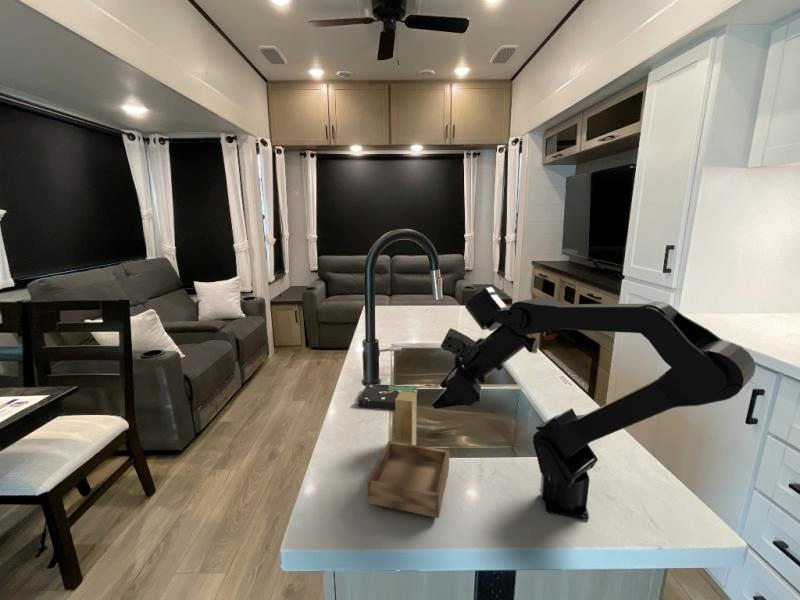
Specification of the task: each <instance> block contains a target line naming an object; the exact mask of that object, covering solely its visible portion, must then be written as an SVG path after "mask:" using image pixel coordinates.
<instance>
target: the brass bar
mask: <svg viewBox="0 0 800 600" xmlns="http://www.w3.org/2000/svg"><path fill="white" fill-rule="evenodd" d="M394 411H395V442H397V443H403V444H410V445H416V446H417V397H416V393H413V392H404V391H400V393H399V394H398V396H397V398H396V399H395V410H394Z"/></svg>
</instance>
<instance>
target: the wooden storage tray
mask: <svg viewBox="0 0 800 600" xmlns="http://www.w3.org/2000/svg"><path fill="white" fill-rule="evenodd" d="M449 471H450V450H447V449H441V448H433V447H429V446H428V447H427V446H421V445H417V444H416V445H410V444H403V443H397V442H396V441H391V440H390V441H389V440H388V442H387V443H386V446H385V448H384V449H383V452H382V453H381V455H380V457H379V459H378V460H377V462H376V464H375V466H374V469H373V471H372V472H371V474H370V476H369V478H368V480H367V481H366V482H367V483H366V486H367V504H370V505H376V506H380V507H386V508H390V509H395V510H400V511H403V512H404V511H405V512H409V513H414V514H418V515H424V516H427V517H433V518H437V519H439V518H440V513H441V507H442V504H443V500H444V496H445V495H444V494H445V491H446V485H447V480H448V476H449Z"/></svg>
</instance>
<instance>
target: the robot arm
mask: <svg viewBox="0 0 800 600" xmlns="http://www.w3.org/2000/svg"><path fill="white" fill-rule="evenodd" d="M464 306H465V307H464V308H465V309H466V310H467V312H468V314H470V316H471V317H472V318H473V320H474V321H475V323H476V324H477V325H478V326H479V328H480V329H481V330H482V331H486V330H488V331H489V332H491V331H492V332H491V333H490V334H489V335H488V336H486V337H485V338H484V337H482V338H481V337H479V338H478V339H477V340H474V339H472V338H471V337H469V336H468V335H466V334H464V333H463V332H462V333H461V332H460V331H459V330H456V329H454V328H449V329H448V331H447V333H446V335H445V337H444V338H443V340H442V342H441V344H440V349H442V350H443V351H445V352H449V353H451V354H453V355H455V356H454V365H453V366H452V367H451V369H450V370H449V372H448V373H447V374H446V376H445V377H444V378H443V380H442V381H441V382H440V384H439V386H440V387H441V388H442V389H443V390H442V391H441V393H440V394H439V395H438V396H437V397H436V399H434V401H433V402H432V404H431V406H432V407H433V408H434V409H435V410H438V409H444V408H450V407H458V406H459V407H460V406H466V407H469V408H473V407H474V406H476V405H478V404H479V403H480V402H481V394H482V386H481V384H482V385H483V384H484V383H486V382H487V377H489V375H491V374H492V373H493V372H494V371H496V370H497V371H498V372H499V371H500V372H501V370H502V369H503V368H504V364H505V363H506V362H508V361H509V360H510V359H511V358H513V357H514V356H516V355H517V353H520V351H522V350H523V349H525V350H527V352H528V353H530V354H537V353H538V343H539V339H538V338H536V337H531V336H530V335H534V334H541V333H546V332H547V333H548V332H552V331H556V330H557V331H559V330H567V331H568V330H569V331H585V332H586V331H588V332H605V333H606V332H610V333H628V334H629V333H630V334H640V335H642V336H643V337H644V338H645V339H646V340H647V341H648V342H649V343H650V344H651V345H652V347H653V349H654V350H655V351H656V353H658V355H659V356H660V357H661V359H662V360H663V361H664V363H665V364H667V365H668V366H669V367H670V368H669V369H668V370H666V371H665V372H664V373H663V374H661V375H660V376H659V377H657V379H654V380H653V381H650V382H649V383H646V384H645V385H642V386H640V387H639V388H636V389H634V390H632V391H630V392H628V393H626V394H624V395H622V396H620V397H618V398H616V399H613V400H612V401H610V402H608V403H606V404H604V405H602V406H600V407H598V408H595V409H594V410H592V411H590V412H588V413H585V414H579V415H578V414H577V415H576V413H575V410H574V409H573V408H570V409H567V410H566V411H564V412H562V413H560V414H557V415H555V416H553V417H552V418H550V419H549V420H546V421H545V422H543V423H541V424H539V425H538V426H537V425H536V427H535V429H536V430H537V431H536V432H535V433H534V434H533V435H532V444H533V448H534V450H535V451H534V452H535V454H536V458H537V462H538V463H537V464H538V467H539V470H540V471H539V472H540V474H541V477H540V478H541V479H540V489H539V490H540V497H541V500H542V501H543V502H544V507H545V511H546V512H548V513H550V514H554V515H555V514H556V515H561V516H566V517H571V518H577V519H581V520H585V521H586V520H589V519H590V516H589V511H588V508H587V505H588V498H589V497H588V496H589V487H590V476H589V474H588V471H589V470H591V469H592V468H594V466H595V465H596V464H597V462H598V460H599V459H598V458H597V456H596V454H595V452H594V451H593V450H592V448H591V447H590V443H593V442H594V441H597V440H600V439H601V438H604V437H606V436H608V435H612V434H614V433H616V432H618V431H621V430H624V429H626V428H628V427H630V426H633V425H636V424H637V423H640V422H643V421H645V420H647V419H650V418H652V417H655V416H657V415H659V414H662V413H664V412H666V411H669V410H672V409H676V408H687V407H688V408H690V407H699V406H702V405H703V406H704V405H709V404H713V403H717V402H722V401H726V400H730V399H733V397H735V396H737V395H738V394H739V393H741V392H740V391H742V390H743V388H745V386H746V385H747V384H748V383H749V382H750V381H751V379H752V378H753V377H754V375H755V372H756V363H755V359H754V358H753V357H752V355H751V353H749V352H748V351H747V350H746V348H745V349H744V347H742V346H740V345H737V344H736V343H733V342H729V341H725V340H723V339H721V338H720V337H719V336H718V335H717V334H715V333H713V332H712V331H711V330H709V329H708V328H706V327H704V326H703V325H700V324H699V323H698V322H695V321H694V320H692V319H690V318H689V317H687V316H685V315H684V314H682V313H681V312H680V311H678V310H677V309H675V308H674V307H673V306H672V305H671V304H669V303H667V302H663V301H654V302H650V303H603V304H602V303H586V304H585V303H584V304H583V303H581V304H580V303H579V304H573V303H572V304H571V303H567V302H563V301H559V300H557V299H551V298H546V297H545V298H543V297H537V298H536V297H534V298H531V299H525V300H520V301H519V300H518V301H515V302H513V303H512V304H511V305H508V306H507V304H506V303H505V302H504V301H503V300H502V299H501V298H500V297H499V295H498V294H497V292H496V290H495V289H494V288H493V287H492V286H489V287H484V288H483V289H482V290H481V291H480V292H478V293H477V294H474V295H473V296H472V297H471V298H469V299H467V301H466V302H465V304H464ZM476 380H478V381H479V383H480V384H479V383H478V381H476Z"/></svg>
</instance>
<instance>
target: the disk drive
mask: <svg viewBox="0 0 800 600" xmlns="http://www.w3.org/2000/svg"><path fill="white" fill-rule="evenodd" d="M400 391H404V392H413V393H416V398H417V397H418V388H417V387H415V386H411V385H410V386H409V385H397V384H396V385H394V384H379V383H378V384H376V383H367V384H366V385H365V387H364V389H363V390H362V392H361V395H360V396H359V398H358V399H357V400H358V408H363V409H377V408H381V410H393V411H395V399H396V398H397V396H398V394H399V393H400Z"/></svg>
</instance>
